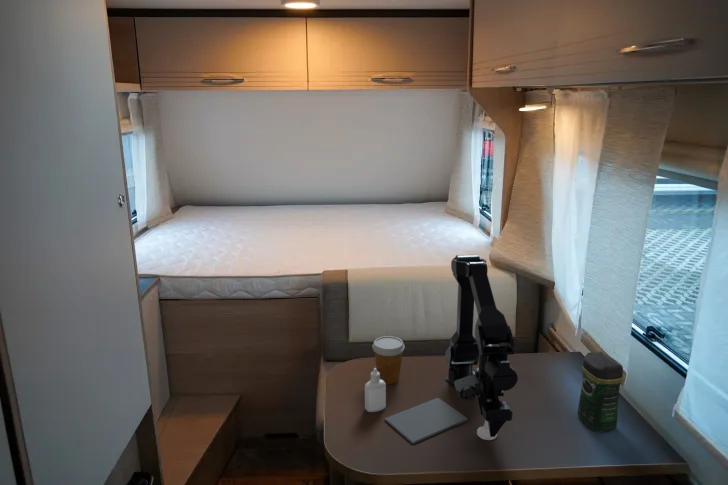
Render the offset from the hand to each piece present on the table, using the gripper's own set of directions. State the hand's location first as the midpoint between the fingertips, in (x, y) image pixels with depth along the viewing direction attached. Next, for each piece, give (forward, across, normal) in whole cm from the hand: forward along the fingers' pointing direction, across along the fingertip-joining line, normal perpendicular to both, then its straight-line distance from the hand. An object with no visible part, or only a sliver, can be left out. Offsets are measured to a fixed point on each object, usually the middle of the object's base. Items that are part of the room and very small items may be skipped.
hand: (487, 425), depth 135 cm
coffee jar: (+3, -3, +29) cm, 30 cm away
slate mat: (+2, -7, -14) cm, 16 cm away
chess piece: (+3, 0, 0) cm, 3 cm away
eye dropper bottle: (+3, -13, -27) cm, 30 cm away
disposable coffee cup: (+3, -29, -22) cm, 36 cm away
